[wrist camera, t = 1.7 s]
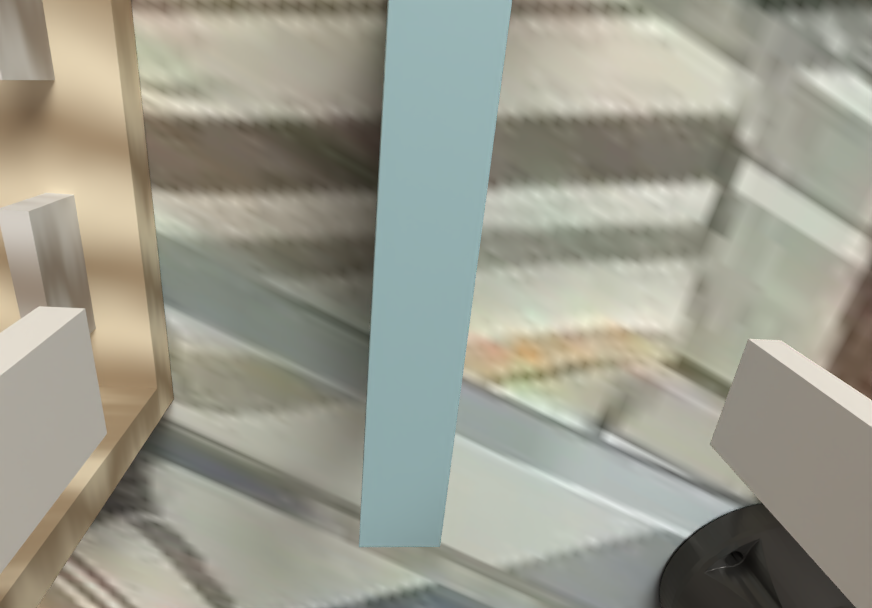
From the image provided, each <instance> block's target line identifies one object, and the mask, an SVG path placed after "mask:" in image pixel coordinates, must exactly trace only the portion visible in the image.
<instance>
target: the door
mask: <svg viewBox="0 0 872 608" xmlns="http://www.w3.org/2000/svg"><path fill="white" fill-rule="evenodd" d="M511 5H512V0H388V3H387V21H386V40H385V58H384V77H383V96H382V114H381V133H380V151H379V170H378V188H377V207H376V226H375V244H374V263H373V281H372V300H371V319H370V337H369V356H368V375H367V396H366V416H365V436H364V457H363V477H362V497H361V517H360V538H359V547H440V543H441V535H442V528H443V520H444V512H445V505H446V497H447V490H448V482H449V475H450V467H451V459H452V452H453V444H454V437H455V429H456V422H457V414H458V406H459V399H460V391H461V384H462V376H463V369H464V361H465V353H466V346H467V338H468V331H469V323H470V316H471V308H472V300H473V293H474V285H475V278H476V270H477V263H478V255H479V247H480V240H481V232H482V225H483V217H484V210H485V202H486V194H487V187H488V179H489V172H490V164H491V157H492V149H493V141H494V134H495V126H496V119H497V111H498V104H499V96H500V88H501V81H502V73H503V66H504V58H505V51H506V43H507V35H508V28H509V20H510V13H511Z"/></svg>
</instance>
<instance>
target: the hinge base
mask: <svg viewBox="0 0 872 608" xmlns="http://www.w3.org/2000/svg"><path fill="white" fill-rule="evenodd" d="M39 306H43V307H65V308H85V311H86V316H87V322H88V328H89V333H90V339H91V345H92V351H93V356H94V362H95V368H96V373H97V379H98V385H99V390H100V396H101V402H102V407H103V413H104V419H105V425H106V430H107V434H106V436H105V437H104V438H103V440H102V441H101V442H100V444H99V445H98V446H97V448H96V449H95V450H94V451H93V453H92V454H91V455H90V457H89V458H88V459H87V461H86V462H85V463H84V465H83V466H82V467H81V469H80V470H79V471H78V473H77V474H76V475H75V477H74V478H73V479H72V480H71V482H70V483H69V484H68V486H67V487H66V488H65V490H64V491H63V492H62V494H61V495H60V496H59V498H58V499H57V500H56V502H55V503H54V504H53V506H52V507H51V508H50V509H49V511H48V512H47V513H46V515H45V516H44V517H43V519H42V520H41V521H40V523H39V524H38V525H37V527H36V528H35V529H34V531H33V532H32V533H31V535H30V536H29V537H28V538H27V540H26V541H25V542H24V544H23V545H22V546H21V548H20V549H19V550H18V552H17V553H16V554H15V556H14V557H13V558H12V560H11V561H10V562H9V563H8V565H7V566H6V567H5V569H4V570H3V571H2V573H1V574H0V608H37V606H38V605H39V603H40V602H41V600H42V599H43V597H44V596H45V594H46V592H47V591H48V589H49V588H50V586H51V585H52V583H53V582H54V580H55V579H56V577H57V576H58V574H59V573H60V571H61V570H62V568H63V567H64V565H65V564H66V562H67V561H68V559H69V557H70V556H71V554H72V553H73V551H74V550H75V548H76V547H77V545H78V544H79V542H80V541H81V539H82V538H83V536H84V535H85V533H86V532H87V530H88V529H89V527H90V525H91V524H92V522H93V521H94V519H95V518H96V516H97V515H98V513H99V512H100V510H101V509H102V507H103V506H104V504H105V503H106V501H107V500H108V498H109V497H110V495H111V494H112V492H113V490H114V489H115V487H116V486H117V484H118V483H119V481H120V480H121V478H122V477H123V475H124V474H125V472H126V471H127V469H128V468H129V466H130V465H131V463H132V462H133V460H134V459H135V457H136V455H137V454H138V452H139V451H140V449H141V448H142V446H143V445H144V443H145V442H146V440H147V439H148V437H149V436H150V434H151V433H152V431H153V430H154V428H155V427H156V425H157V423H158V422H159V420H160V419H161V417H162V416H163V414H164V413H165V411H166V410H167V408H168V407H169V405H170V404H171V402H172V401H173V399H174V397H173V387H172V378H171V369H170V359H169V350H168V341H167V332H166V322H165V313H164V304H163V294H162V285H161V276H160V267H159V257H158V248H157V239H156V229H155V220H154V211H153V202H152V192H151V183H150V174H149V164H148V155H147V146H146V137H145V127H144V118H143V109H142V99H141V90H140V81H139V72H138V62H137V53H136V44H135V34H134V25H133V16H132V6H131V0H0V333H1V332H2V331H4V330H5V329H6V328H8V327H9V326H11V325H12V324H14V323H15V322H17V321H18V320H20V319H21V318H23V317H24V316H26V315H27V314H29V313H30V312H31V311H33V310H34V309H36V308H37V307H39Z"/></svg>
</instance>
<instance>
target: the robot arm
mask: <svg viewBox="0 0 872 608" xmlns="http://www.w3.org/2000/svg"><path fill="white" fill-rule="evenodd" d="M106 434H107V430H106V425H105V419H104V413H103V407H102V402H101V396H100V390H99V385H98V379H97V373H96V368H95V362H94V356H93V351H92V345H91V339H90V333H89V328H88V322H87V316H86V311H85V308H65V307H43V306H39V307H37V308H36V309H34V310H33V311H31V312H30V313H29V314H27V315H26V316H24V317H23V318H21V319H20V320H18V321H17V322H15V323H14V324H12V325H11V326H9V327H8V328H6V329H5V330H4V331H2V332H1V333H0V574H1V573H2V571H3V570H4V569H5V567H6V566H7V565H8V563H9V562H10V561H11V560H12V558H13V557H14V556H15V554H16V553H17V552H18V550H19V549H20V548H21V546H22V545H23V544H24V542H25V541H26V540H27V538H28V537H29V536H30V535H31V533H32V532H33V531H34V529H35V528H36V527H37V525H38V524H39V523H40V521H41V520H42V519H43V517H44V516H45V515H46V513H47V512H48V511H49V509H50V508H51V507H52V506H53V504H54V503H55V502H56V500H57V499H58V498H59V496H60V495H61V494H62V492H63V491H64V490H65V488H66V487H67V486H68V484H69V483H70V482H71V480H72V479H73V478H74V477H75V475H76V474H77V473H78V471H79V470H80V469H81V467H82V466H83V465H84V463H85V462H86V461H87V459H88V458H89V457H90V455H91V454H92V453H93V451H94V450H95V449H96V448H97V446H98V445H99V444H100V442H101V441H102V440H103V438H104V437H105V436H106ZM710 445H711V446H712V447H713V448H714V450H715V451H716V452H717V453H718V454H719V455H720V456H721V457H722V459H723V460H724V461H725V462H726V463H727V464H728V465H729V466H730V467H731V469H732V470H733V471H734V472H735V473H736V474H737V475H738V476H739V478H740V479H741V480H742V481H743V482H744V483H745V484H746V485H747V486H748V488H749V489H750V490H751V491H752V492H753V493H754V494H755V495H756V497H757V498H758V499H759V500H760V501H761V502H762V503H763V504H758V505H753V506H749V507H746V508H743V509H739V510H737V511H734V512H732V513H729V514H727V515H725V516H723V517H721V518H719V519H717V520H715V521H713V522H711V523H710V524H708V525H707V526H705V527H704V528H702V529H701V530H699V531H698V532H697V533H695V534H694V535H693V536H692V537H691V538H689V539H688V540H687V541H686V542H685V543H684V544H683V545H682V546H681V547H680V549H679V550H678V551H677V552H676V553H675V555H674V556H673V557H672V559H671V560H670V562H669V564H668V565H667V567H666V569H665V571H664V574H663V577H662V580H661V584H660V595H659V596H660V603H661V607H662V608H872V400H870V399H869V398H867V397H866V396H864V395H863V394H861V393H860V392H858V391H857V390H855V389H854V388H852V387H851V386H849V385H848V384H846V383H845V382H843V381H842V380H840V379H839V378H837V377H836V376H834V375H833V374H831V373H830V372H828V371H827V370H825V369H823V368H822V367H820V366H819V365H817V364H816V363H814V362H813V361H811V360H810V359H808V358H807V357H805V356H804V355H802V354H801V353H799V352H798V351H796V350H795V349H793V348H792V347H790V346H789V345H787V344H786V343H784V342H783V341H781V340H762V339H748V341H747V344H746V347H745V349H744V352H743V355H742V358H741V360H740V363H739V366H738V369H737V371H736V374H735V377H734V379H733V382H732V385H731V388H730V390H729V393H728V396H727V399H726V401H725V404H724V407H723V410H722V412H721V415H720V418H719V420H718V423H717V426H716V429H715V431H714V434H713V437H712V440H711V442H710Z"/></svg>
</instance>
